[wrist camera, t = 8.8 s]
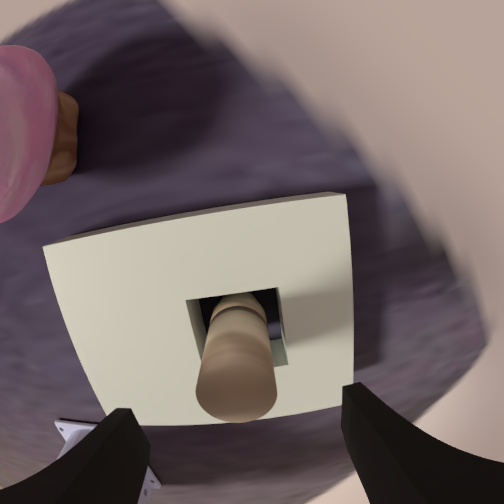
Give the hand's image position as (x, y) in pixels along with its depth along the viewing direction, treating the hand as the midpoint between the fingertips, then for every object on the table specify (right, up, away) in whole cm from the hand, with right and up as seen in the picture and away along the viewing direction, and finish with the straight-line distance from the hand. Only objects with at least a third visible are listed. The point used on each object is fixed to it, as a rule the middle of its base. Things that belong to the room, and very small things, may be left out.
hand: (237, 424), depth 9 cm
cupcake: (-12, +13, +7) cm, 19 cm away
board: (-2, +2, +9) cm, 10 cm away
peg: (0, +2, +9) cm, 9 cm away
